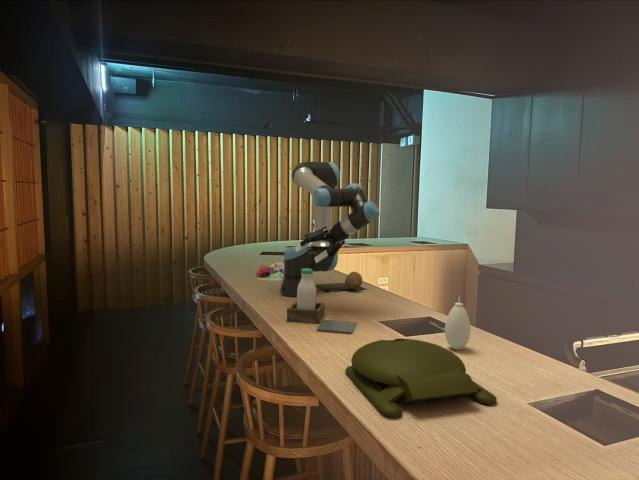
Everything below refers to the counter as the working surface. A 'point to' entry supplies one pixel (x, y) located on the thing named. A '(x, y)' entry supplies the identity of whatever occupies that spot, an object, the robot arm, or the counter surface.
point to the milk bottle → (306, 291)
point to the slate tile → (337, 326)
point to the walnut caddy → (306, 314)
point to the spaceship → (411, 374)
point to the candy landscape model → (271, 272)
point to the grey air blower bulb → (457, 327)
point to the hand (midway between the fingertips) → (306, 255)
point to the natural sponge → (353, 281)
